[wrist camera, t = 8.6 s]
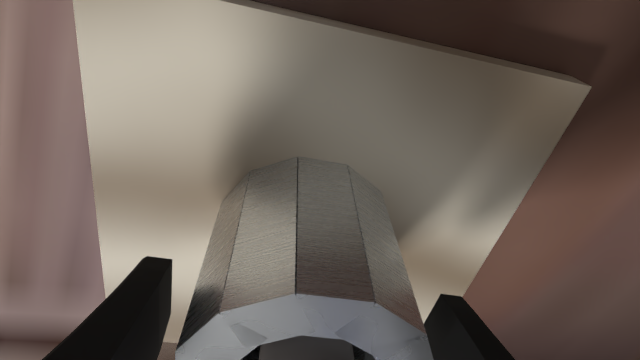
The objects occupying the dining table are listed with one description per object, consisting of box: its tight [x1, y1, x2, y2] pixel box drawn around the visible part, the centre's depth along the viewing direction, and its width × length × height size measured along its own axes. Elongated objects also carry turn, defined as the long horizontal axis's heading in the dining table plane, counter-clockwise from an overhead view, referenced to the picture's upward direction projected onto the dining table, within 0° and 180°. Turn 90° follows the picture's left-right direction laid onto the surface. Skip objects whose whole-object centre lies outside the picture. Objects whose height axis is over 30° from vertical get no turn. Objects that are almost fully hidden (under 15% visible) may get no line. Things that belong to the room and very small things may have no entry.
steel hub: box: [175, 156, 433, 360], centre depth 10 cm, size 6×6×5 cm
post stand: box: [73, 0, 592, 360], centre depth 11 cm, size 13×13×6 cm
